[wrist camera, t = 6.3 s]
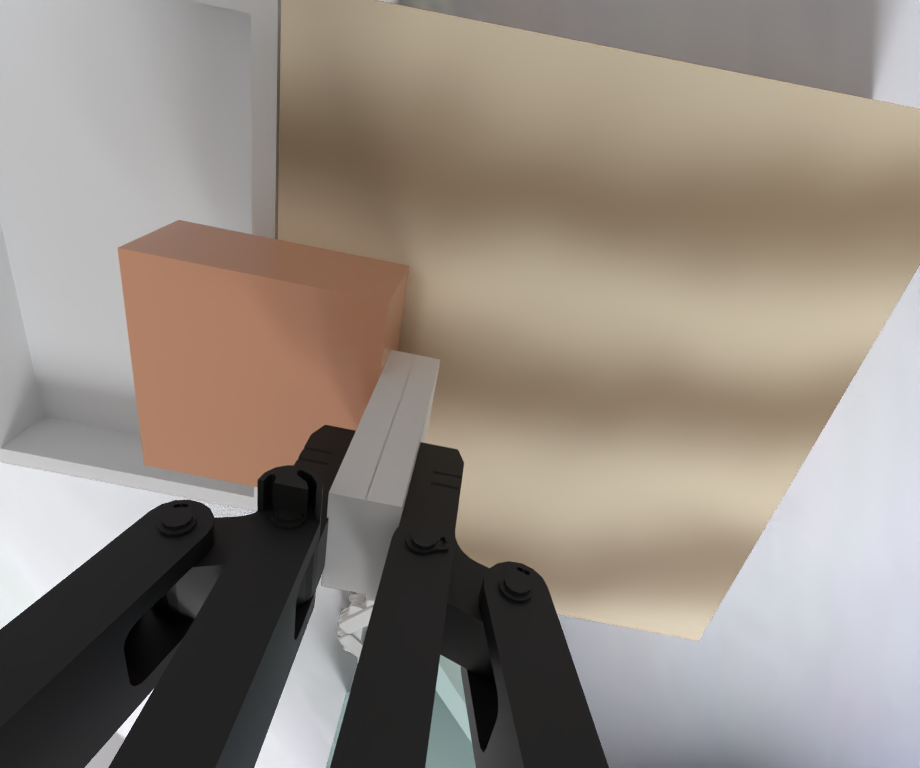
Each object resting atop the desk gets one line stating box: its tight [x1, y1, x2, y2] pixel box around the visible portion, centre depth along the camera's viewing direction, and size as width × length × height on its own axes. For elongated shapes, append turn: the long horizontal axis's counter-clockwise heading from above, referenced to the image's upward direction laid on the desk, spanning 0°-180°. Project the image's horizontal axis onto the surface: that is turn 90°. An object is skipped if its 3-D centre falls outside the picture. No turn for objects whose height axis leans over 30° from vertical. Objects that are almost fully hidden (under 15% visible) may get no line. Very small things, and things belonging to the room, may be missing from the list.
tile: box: [118, 220, 409, 487], centre depth 18 cm, size 7×7×3 cm
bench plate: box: [278, 0, 920, 641], centre depth 22 cm, size 20×18×6 cm
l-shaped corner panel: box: [326, 593, 476, 768], centre depth 32 cm, size 12×12×8 cm
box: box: [0, 0, 281, 511], centre depth 23 cm, size 20×13×4 cm, turn 170°
